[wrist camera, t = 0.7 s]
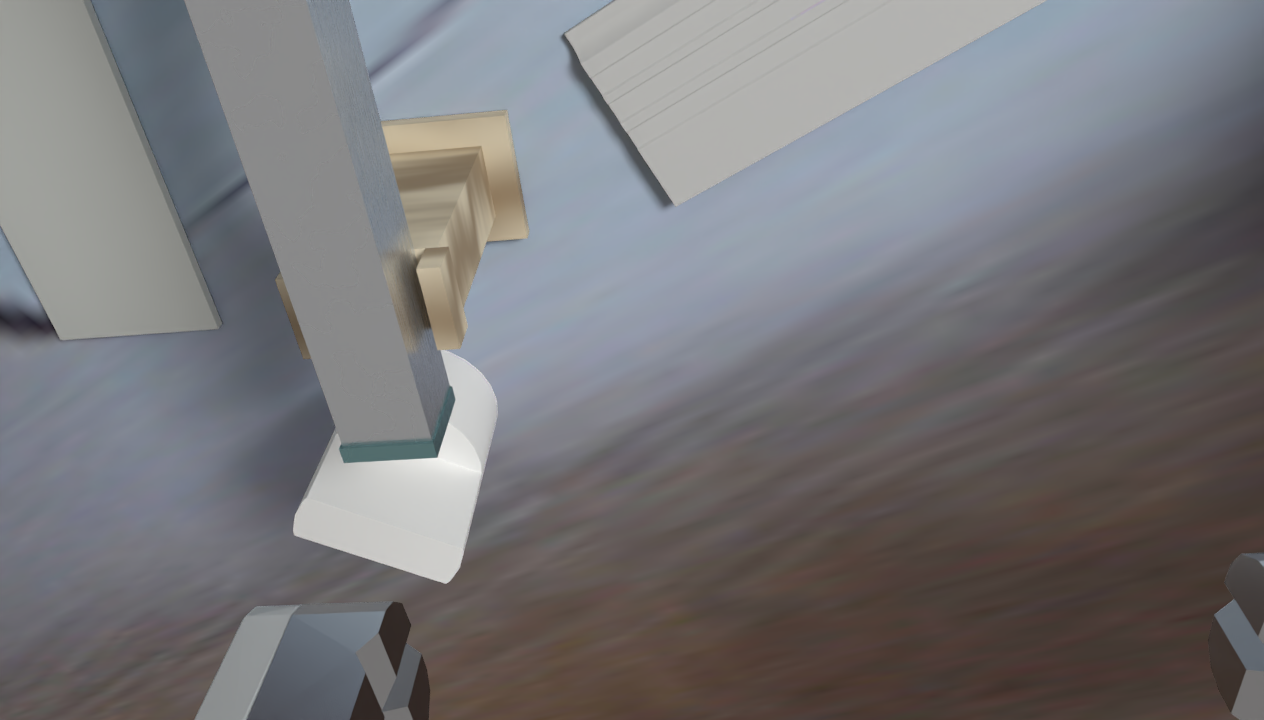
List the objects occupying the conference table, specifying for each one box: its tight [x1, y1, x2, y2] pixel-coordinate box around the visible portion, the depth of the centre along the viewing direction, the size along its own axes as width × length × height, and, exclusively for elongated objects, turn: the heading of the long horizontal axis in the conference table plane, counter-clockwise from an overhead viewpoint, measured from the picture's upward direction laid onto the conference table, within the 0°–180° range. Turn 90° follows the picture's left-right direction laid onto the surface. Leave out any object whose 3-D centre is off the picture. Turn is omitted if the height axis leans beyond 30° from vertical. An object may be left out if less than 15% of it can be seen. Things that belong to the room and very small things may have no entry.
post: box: [275, 110, 529, 359], centre depth 46 cm, size 7×9×14 cm
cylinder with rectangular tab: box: [293, 350, 498, 584], centre depth 56 cm, size 9×9×12 cm
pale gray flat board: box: [0, 0, 222, 340], centre depth 48 cm, size 34×10×1 cm, turn 6°
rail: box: [184, 0, 456, 463], centre depth 35 cm, size 30×4×4 cm, turn 6°
